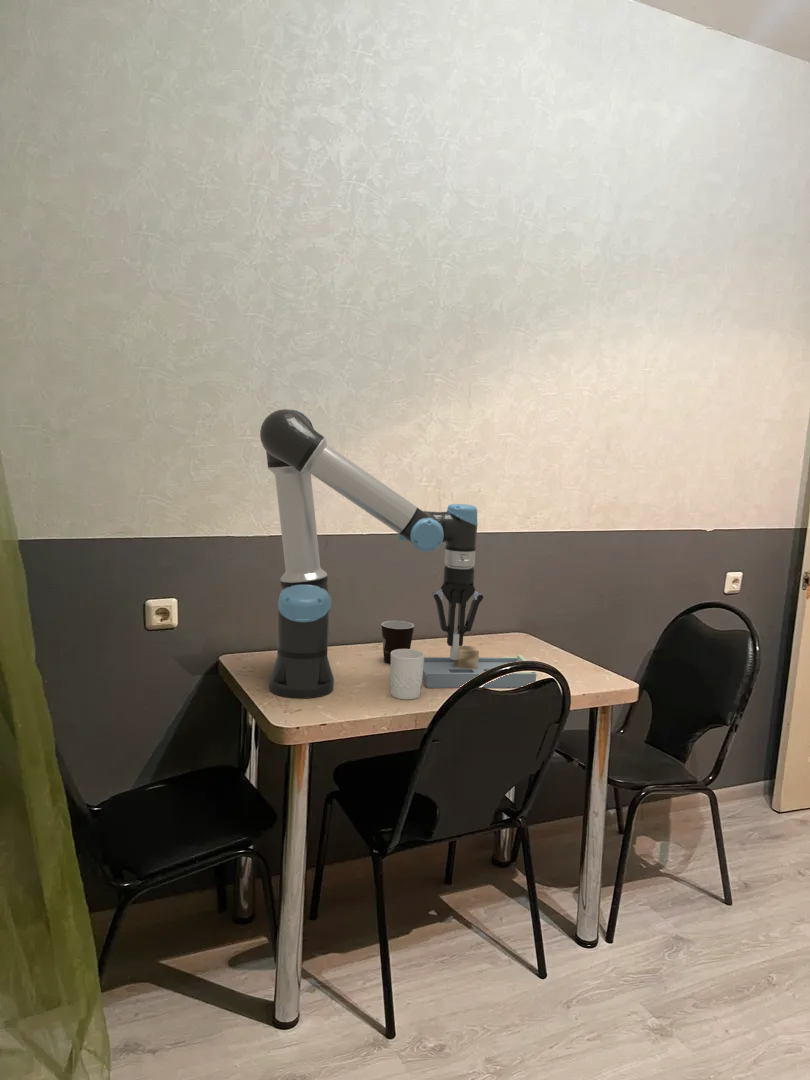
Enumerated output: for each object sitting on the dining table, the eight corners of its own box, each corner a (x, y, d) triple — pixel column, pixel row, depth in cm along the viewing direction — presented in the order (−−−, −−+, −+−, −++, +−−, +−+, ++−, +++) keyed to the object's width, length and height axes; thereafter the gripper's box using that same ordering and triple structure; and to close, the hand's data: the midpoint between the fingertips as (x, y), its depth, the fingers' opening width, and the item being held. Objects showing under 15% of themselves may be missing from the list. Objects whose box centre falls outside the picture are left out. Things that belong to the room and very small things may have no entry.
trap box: (427, 687, 194) (428, 669, 194) (417, 670, 208) (418, 653, 207) (535, 687, 198) (536, 670, 198) (518, 670, 212) (520, 653, 211)
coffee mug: (408, 667, 210) (410, 630, 208) (376, 664, 211) (378, 627, 210) (417, 655, 221) (418, 620, 219) (386, 652, 223) (388, 617, 221)
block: (458, 668, 203) (459, 651, 202) (454, 662, 208) (455, 645, 207) (477, 668, 203) (478, 651, 203) (473, 662, 208) (474, 645, 208)
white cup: (410, 687, 194) (412, 647, 192) (429, 697, 187) (431, 656, 186) (382, 692, 190) (384, 650, 188) (400, 702, 183) (402, 660, 182)
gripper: (436, 568, 197) (431, 662, 200) (488, 569, 199) (482, 662, 202) (431, 563, 204) (426, 653, 207) (481, 564, 206) (475, 654, 209)
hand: (453, 658), depth 205 cm, fingers closed
